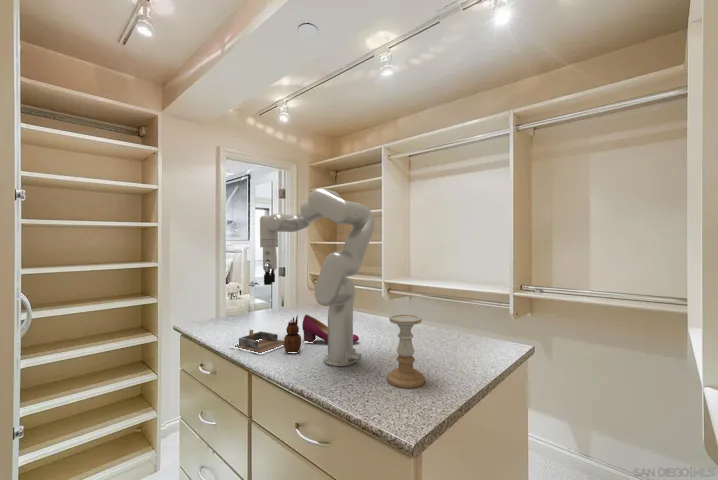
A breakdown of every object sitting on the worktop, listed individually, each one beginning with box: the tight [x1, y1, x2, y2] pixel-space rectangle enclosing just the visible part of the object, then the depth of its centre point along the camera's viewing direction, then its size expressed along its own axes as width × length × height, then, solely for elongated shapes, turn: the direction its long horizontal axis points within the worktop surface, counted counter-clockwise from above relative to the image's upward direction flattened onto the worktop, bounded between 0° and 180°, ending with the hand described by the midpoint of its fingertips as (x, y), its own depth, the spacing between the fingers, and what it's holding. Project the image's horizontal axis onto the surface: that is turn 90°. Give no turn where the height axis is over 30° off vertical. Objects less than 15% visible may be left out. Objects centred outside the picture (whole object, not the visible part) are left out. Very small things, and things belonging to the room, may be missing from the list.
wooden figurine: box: [283, 314, 302, 353], centre depth 132 cm, size 7×6×15 cm
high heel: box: [301, 314, 360, 344], centre depth 145 cm, size 9×26×12 cm, turn 88°
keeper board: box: [235, 329, 284, 353], centre depth 140 cm, size 19×16×6 cm
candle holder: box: [386, 314, 426, 389], centre depth 105 cm, size 12×12×20 cm
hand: (269, 283), depth 140 cm, fingers open, 9 cm apart
